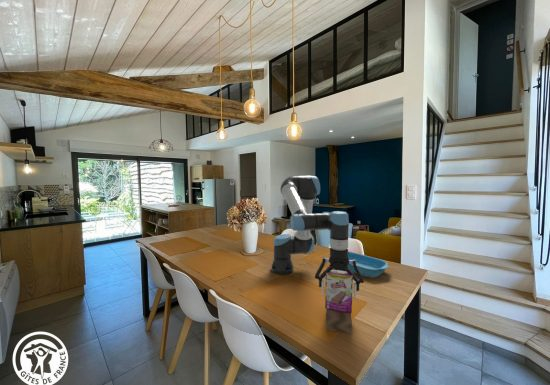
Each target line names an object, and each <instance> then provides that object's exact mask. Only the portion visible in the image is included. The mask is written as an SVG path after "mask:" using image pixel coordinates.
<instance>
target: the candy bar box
mask: <svg viewBox="0 0 550 385" xmlns="http://www.w3.org/2000/svg"><path fill="white" fill-rule="evenodd" d="M353 288H354V280H353V275H349V274H348V273H347V272H346V271H345V270H335V269H332V270H331V271H330V272H329V273H328V272H326V276H325V297H324V298H325V304H324V307H325V309H326V310H327V309H330V310H335V311H341V312H346V313H351V314H352V313H353V312H352V311H353Z"/></svg>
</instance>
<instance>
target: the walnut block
mask: <svg viewBox="0 0 550 385" xmlns="http://www.w3.org/2000/svg"><path fill="white" fill-rule="evenodd" d="M325 316H326V317H325V322H326V323H325V324H326V325H325V329H326V331H329V332H331V331H332V332H338V333H344V334H351V335H352V334H353V319H352V318H353V317H352V313H346V312H341V311H335V310H330V309H326V315H325Z"/></svg>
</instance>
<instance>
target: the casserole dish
mask: <svg viewBox="0 0 550 385" xmlns="http://www.w3.org/2000/svg"><path fill="white" fill-rule="evenodd" d="M353 259H355V261H356V266H357V268H358V270H359V272H360V274H361V276H362V277H366V278H371V279H373V278H377V277H379V276H380V275H382V274H383V273H384V272H385V271H386V270H387V269H388V268H389V267H390V266H389V265H388V262H387V261H385V260H383V259H380V258H376V257H372V256H368V255H365V254H361V253H359V252H358V253H357V252H353V251H348V260H353ZM347 266H348V267H349V269H350V270H351V271H352V272H353V274H355V275H357V273H356V271H355V269H354V267H353V266H352V265H351V264H350V263H349V264H348V265H347ZM343 271H345V269H344V270H343Z"/></svg>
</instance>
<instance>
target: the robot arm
mask: <svg viewBox="0 0 550 385" xmlns="http://www.w3.org/2000/svg"><path fill="white" fill-rule="evenodd" d="M280 193H281V196H282V197H283V198H284V199H285V201H286V204H287V205H288V206H287V207H288V208H289V211H290V213H291V215H290V218H289V219H290V220H289V223H290V228H291V230H293V231H295V232H294V235H293V236H292V235H291V234H286V233H282V234H279V235H276V236H275V237H274V238H273V243H272V245H273V260H272V262H271V266H270V267H271V272H272V273H274V274H276V275H287V274H291V273H293V272H294V269H295V267H294V263H293V260H292V255H301V254H302V255H303V254H304V255H305V254H310V253H312V252H313V251H314V249H315V238H314V236H313V234H312V233H311V231H321V230H322V231H323V230H324V231H325V230H327V231H329V247H330V248H329V258H328V257H325V256H323V257H322V260H321V264H320V265H319V267H318V269H317V270H316V273H315V274H314V279H316V280H318V288H321V296H324V294H325V293H324V287H325V286H324V282H325V281H324V279H325V278H326V272H328V273H329V272H330V271H331V270H339V271H346V272H347V273H348V274H349V275H353V299H354V300H357V292H359V291H360V284H364V282H365V279H364V278H363V276H362V275H361V274H360V272H359V270H358V268H357V266H356V261H355V259H353V260H348V252H349V249H348V248H349V229H350V228H349V227H350V221H349V213H347V211H339V210H337V211H335V210H334V211H331V212H330V211H323V212H322V213H320V212H319V213H318V212H317V213H313V204H314V200H316V198H317V196H318V195H320V193H321V183H320V180H319V177H317V176H315V175H291V176H288V177H286V178H285V179H284V181H282V183H281V184H280ZM327 263H329V265H328V267H327V268H326V269H325V270H323V269H324V267H325V265H326V264H327ZM349 263H350V264H351V265H352V266H353V267H354V269H355V271H356V273H357V274H356V273H353V272H352V271H351V270H350V269H349V267H348V266H347V265H348V264H349ZM344 269H345V270H344ZM321 272H322V273H321ZM356 275H357V276H356Z"/></svg>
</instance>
